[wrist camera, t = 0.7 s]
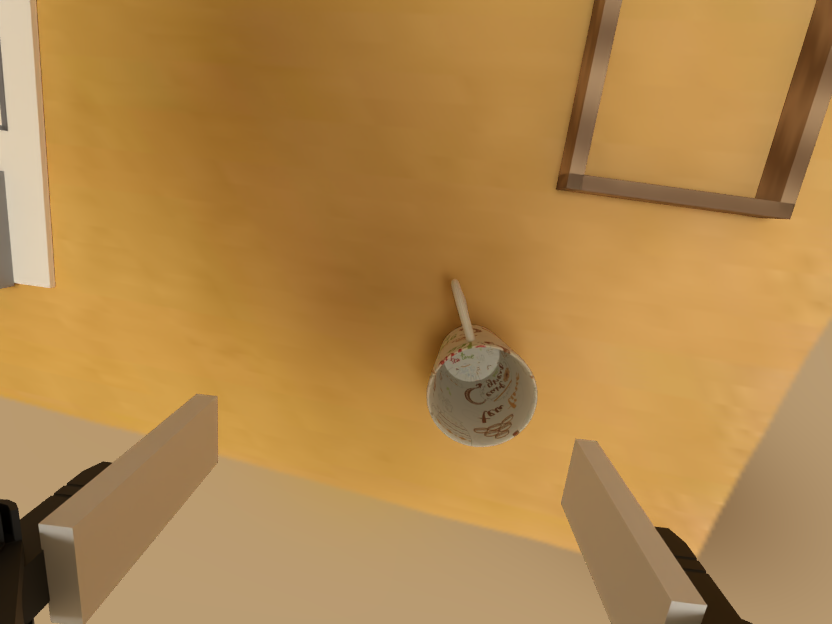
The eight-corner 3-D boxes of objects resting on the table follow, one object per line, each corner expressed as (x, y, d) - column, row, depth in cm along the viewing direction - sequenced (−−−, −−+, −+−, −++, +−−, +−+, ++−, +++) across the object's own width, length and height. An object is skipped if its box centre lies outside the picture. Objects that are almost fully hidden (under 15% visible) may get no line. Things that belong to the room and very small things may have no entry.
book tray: (621, -130, 33) (639, -163, 30) (863, -98, 33) (905, -127, 30) (556, 189, 39) (566, 188, 36) (763, 218, 39) (789, 219, 36)
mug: (441, 402, 44) (443, 458, 34) (404, 284, 41) (395, 308, 32) (522, 381, 43) (549, 432, 33) (490, 259, 40) (509, 276, 31)
